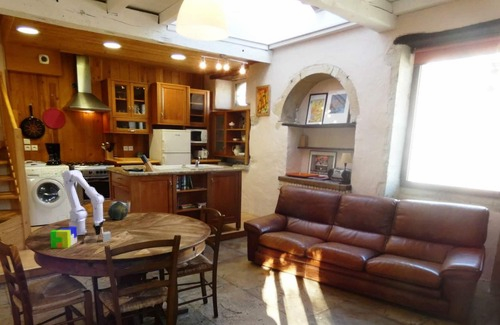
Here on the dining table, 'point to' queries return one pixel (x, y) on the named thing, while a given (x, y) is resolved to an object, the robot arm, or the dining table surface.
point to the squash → (118, 211)
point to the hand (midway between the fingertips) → (98, 233)
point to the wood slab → (91, 239)
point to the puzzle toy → (63, 237)
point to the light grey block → (106, 236)
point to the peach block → (100, 232)
